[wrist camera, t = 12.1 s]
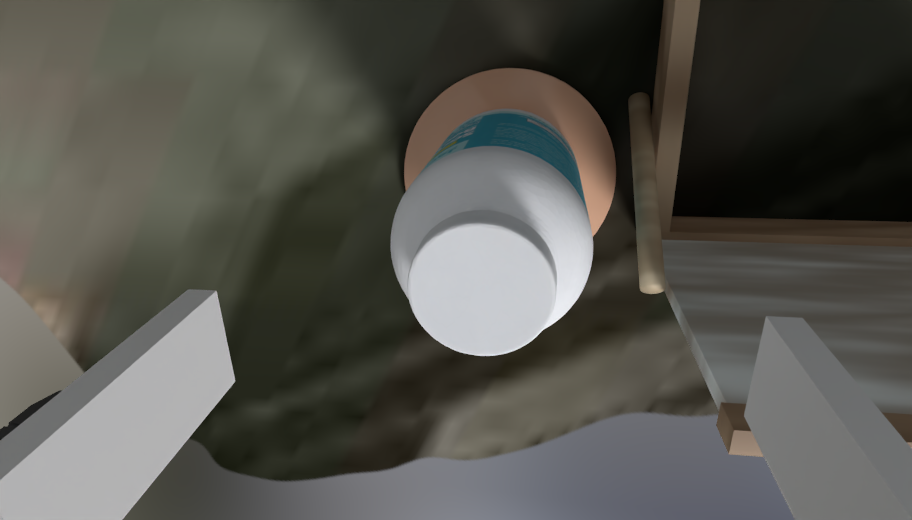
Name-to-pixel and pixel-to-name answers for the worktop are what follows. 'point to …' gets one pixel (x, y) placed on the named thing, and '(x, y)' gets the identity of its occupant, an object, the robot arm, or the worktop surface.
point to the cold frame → (763, 266)
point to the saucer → (532, 96)
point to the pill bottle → (494, 234)
